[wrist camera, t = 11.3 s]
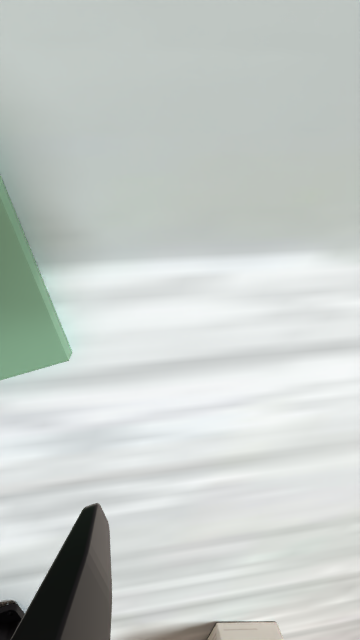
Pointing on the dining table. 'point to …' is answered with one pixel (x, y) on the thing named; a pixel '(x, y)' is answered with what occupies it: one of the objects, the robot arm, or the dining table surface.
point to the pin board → (24, 304)
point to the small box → (246, 631)
